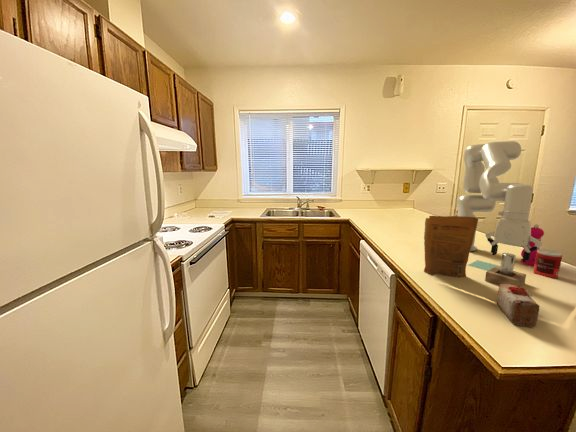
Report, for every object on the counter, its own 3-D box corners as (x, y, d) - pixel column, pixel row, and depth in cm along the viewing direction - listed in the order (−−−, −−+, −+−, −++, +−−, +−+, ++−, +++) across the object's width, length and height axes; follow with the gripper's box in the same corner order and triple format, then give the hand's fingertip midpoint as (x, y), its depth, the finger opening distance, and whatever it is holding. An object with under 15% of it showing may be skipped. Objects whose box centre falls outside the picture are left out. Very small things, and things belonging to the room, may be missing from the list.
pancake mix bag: (471, 283, 104) (480, 218, 98) (420, 274, 113) (425, 215, 108) (469, 277, 110) (477, 215, 104) (420, 269, 119) (425, 212, 113)
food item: (492, 302, 90) (496, 277, 88) (520, 306, 87) (525, 280, 85) (509, 324, 77) (514, 296, 75) (542, 330, 74) (548, 300, 73)
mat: (467, 267, 120) (467, 265, 120) (477, 261, 126) (477, 260, 126) (495, 275, 111) (495, 273, 111) (504, 269, 117) (504, 267, 117)
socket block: (484, 283, 104) (486, 271, 103) (494, 276, 109) (495, 266, 108) (515, 292, 96) (517, 280, 95) (524, 285, 101) (526, 274, 100)
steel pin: (496, 281, 103) (500, 254, 100) (500, 279, 105) (504, 252, 103) (508, 285, 100) (513, 257, 97) (512, 282, 102) (517, 255, 99)
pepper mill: (543, 267, 118) (551, 226, 114) (526, 266, 119) (533, 226, 115) (532, 261, 125) (539, 222, 121) (516, 260, 126) (522, 222, 122)
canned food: (550, 272, 112) (554, 249, 109) (562, 280, 104) (567, 256, 102) (528, 271, 114) (532, 248, 112) (539, 278, 107) (544, 254, 105)
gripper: (484, 214, 102) (479, 253, 105) (543, 221, 87) (535, 266, 91) (492, 212, 106) (487, 250, 109) (549, 218, 91) (541, 262, 94)
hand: (509, 257), depth 100 cm, fingers open, 9 cm apart
